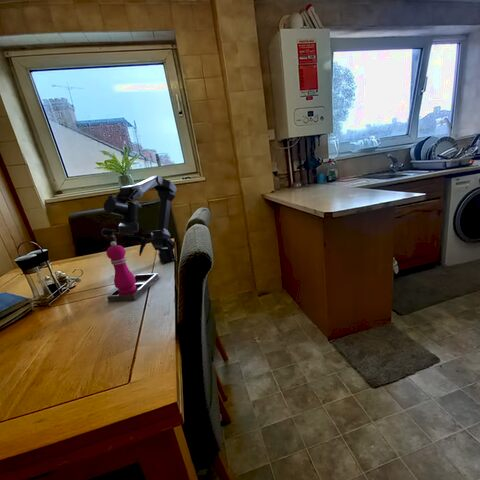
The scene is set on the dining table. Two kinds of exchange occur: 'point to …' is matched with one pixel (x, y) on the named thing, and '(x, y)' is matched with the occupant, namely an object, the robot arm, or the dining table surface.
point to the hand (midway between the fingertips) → (127, 255)
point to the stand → (141, 283)
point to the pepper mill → (121, 270)
